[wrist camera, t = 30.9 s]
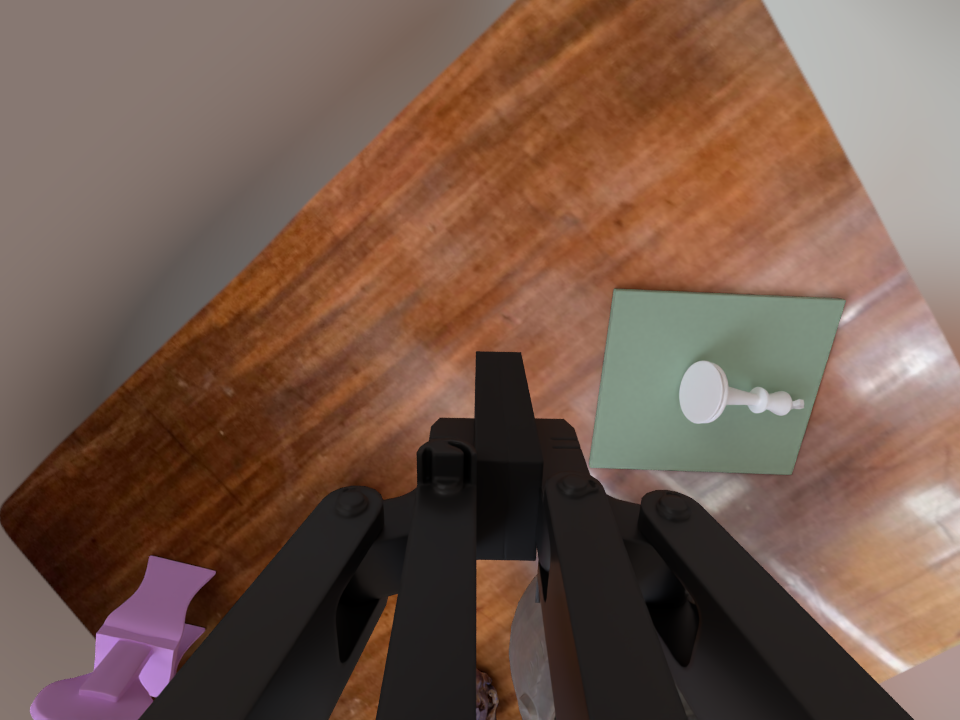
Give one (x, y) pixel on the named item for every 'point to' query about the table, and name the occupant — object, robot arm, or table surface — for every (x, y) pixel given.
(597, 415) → the mat
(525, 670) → the clay pot
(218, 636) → the robot arm
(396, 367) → the table surface
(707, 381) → the chess piece
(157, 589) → the toy chair
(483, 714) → the purple rounded piece
